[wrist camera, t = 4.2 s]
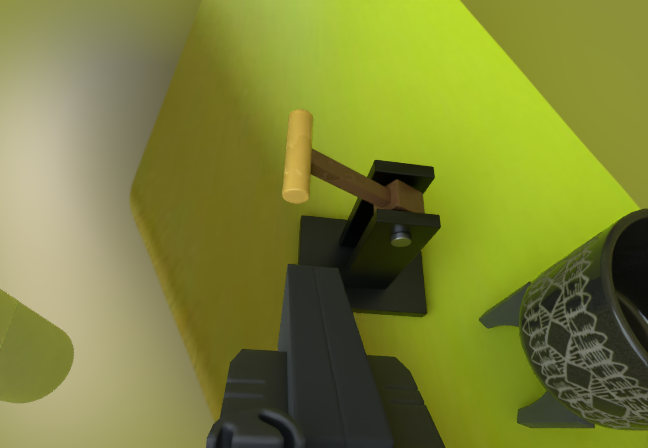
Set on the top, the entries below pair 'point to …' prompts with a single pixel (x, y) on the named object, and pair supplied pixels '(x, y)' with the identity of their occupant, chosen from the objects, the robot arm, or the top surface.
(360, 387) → the robot arm
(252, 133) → the top surface
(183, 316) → the top surface
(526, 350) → the planter
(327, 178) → the lever
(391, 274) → the bracket
